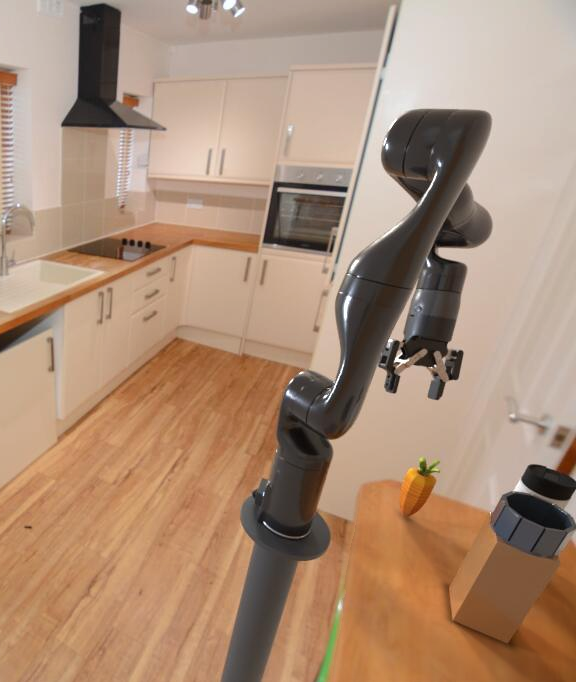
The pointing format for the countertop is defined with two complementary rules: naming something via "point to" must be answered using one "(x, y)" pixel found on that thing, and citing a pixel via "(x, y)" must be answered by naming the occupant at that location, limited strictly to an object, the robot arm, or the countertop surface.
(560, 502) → the travel mug
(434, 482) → the carrot
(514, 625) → the pad socket
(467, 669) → the countertop surface
